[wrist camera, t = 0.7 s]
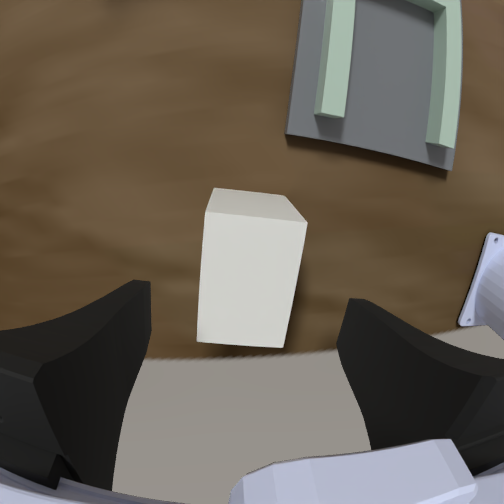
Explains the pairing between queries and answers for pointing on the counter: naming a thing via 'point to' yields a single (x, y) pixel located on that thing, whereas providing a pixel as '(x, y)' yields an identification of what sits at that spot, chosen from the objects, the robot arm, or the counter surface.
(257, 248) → the block
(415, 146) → the frame
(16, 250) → the counter surface
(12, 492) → the robot arm
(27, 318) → the counter surface
